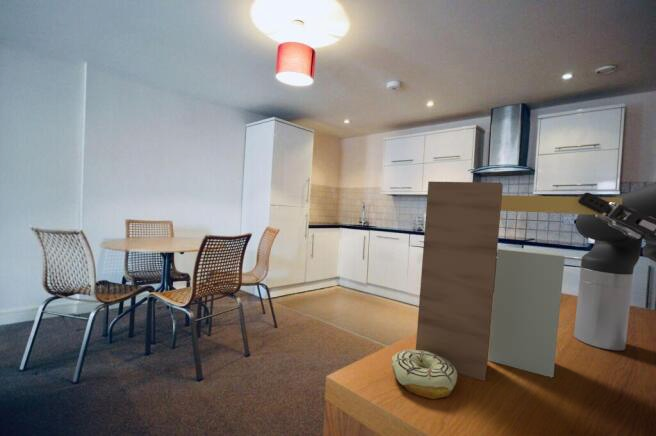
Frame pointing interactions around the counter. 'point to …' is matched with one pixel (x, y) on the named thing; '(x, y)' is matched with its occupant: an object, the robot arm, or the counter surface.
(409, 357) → the decorated donut
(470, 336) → the walnut pillar
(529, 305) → the grey-green block
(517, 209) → the ochre bar
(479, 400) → the counter surface
